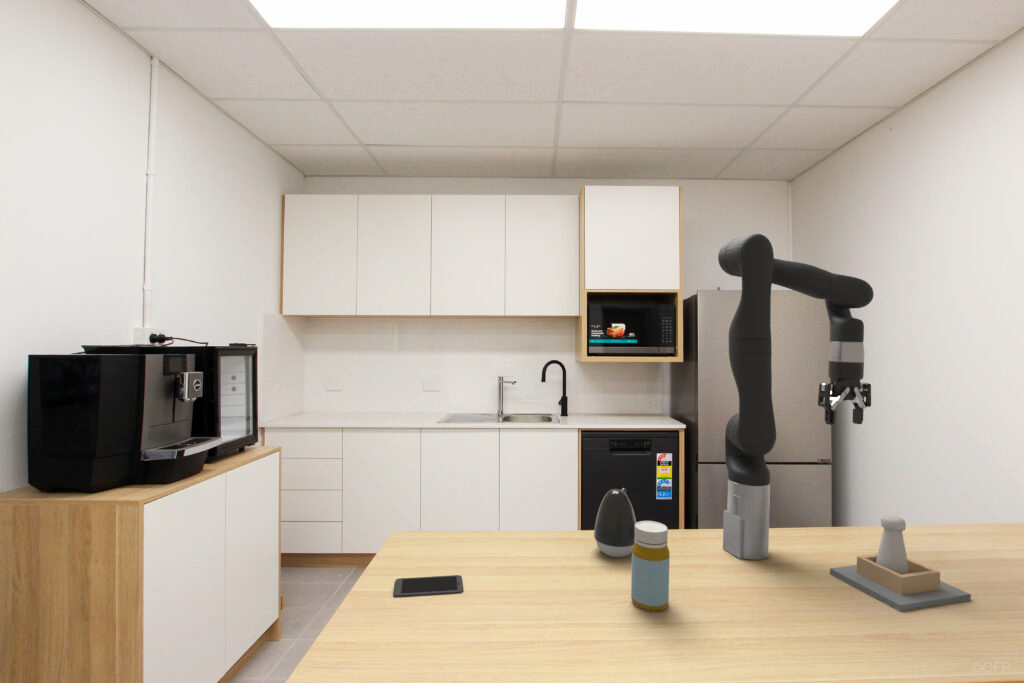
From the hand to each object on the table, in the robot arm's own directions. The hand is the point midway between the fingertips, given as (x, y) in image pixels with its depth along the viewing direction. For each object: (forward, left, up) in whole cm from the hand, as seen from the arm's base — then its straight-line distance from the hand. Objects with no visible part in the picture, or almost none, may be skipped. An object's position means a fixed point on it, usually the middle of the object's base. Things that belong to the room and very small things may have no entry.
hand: (843, 424), depth 134 cm
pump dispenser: (-59, +7, -30) cm, 67 cm away
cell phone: (-104, +1, -31) cm, 108 cm away
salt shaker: (-9, -21, -29) cm, 37 cm away
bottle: (-63, -16, -30) cm, 72 cm away
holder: (-9, -22, -30) cm, 38 cm away
